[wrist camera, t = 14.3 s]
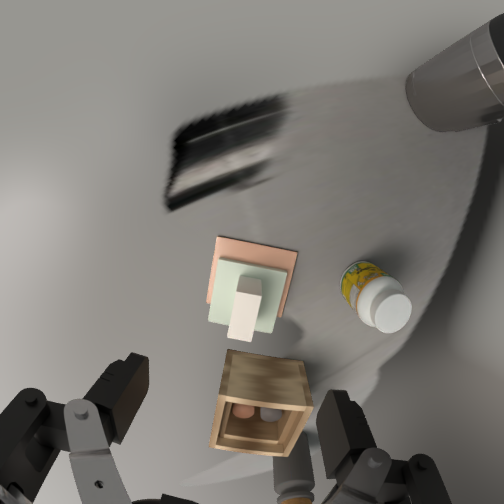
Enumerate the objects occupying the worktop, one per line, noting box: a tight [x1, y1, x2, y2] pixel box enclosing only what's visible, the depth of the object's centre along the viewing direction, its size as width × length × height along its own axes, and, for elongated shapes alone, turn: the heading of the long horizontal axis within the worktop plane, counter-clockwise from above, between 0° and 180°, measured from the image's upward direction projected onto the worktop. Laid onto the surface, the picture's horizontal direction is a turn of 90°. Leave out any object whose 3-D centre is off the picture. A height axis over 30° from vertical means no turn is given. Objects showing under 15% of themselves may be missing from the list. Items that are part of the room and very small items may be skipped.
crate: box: [209, 349, 314, 457], centre depth 30 cm, size 10×10×9 cm
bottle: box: [273, 432, 315, 504], centre depth 30 cm, size 6×6×15 cm
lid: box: [208, 257, 287, 342], centre depth 28 cm, size 8×8×6 cm
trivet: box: [206, 236, 297, 317], centre depth 31 cm, size 9×8×1 cm
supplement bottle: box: [340, 261, 412, 333], centre depth 27 cm, size 5×5×10 cm
